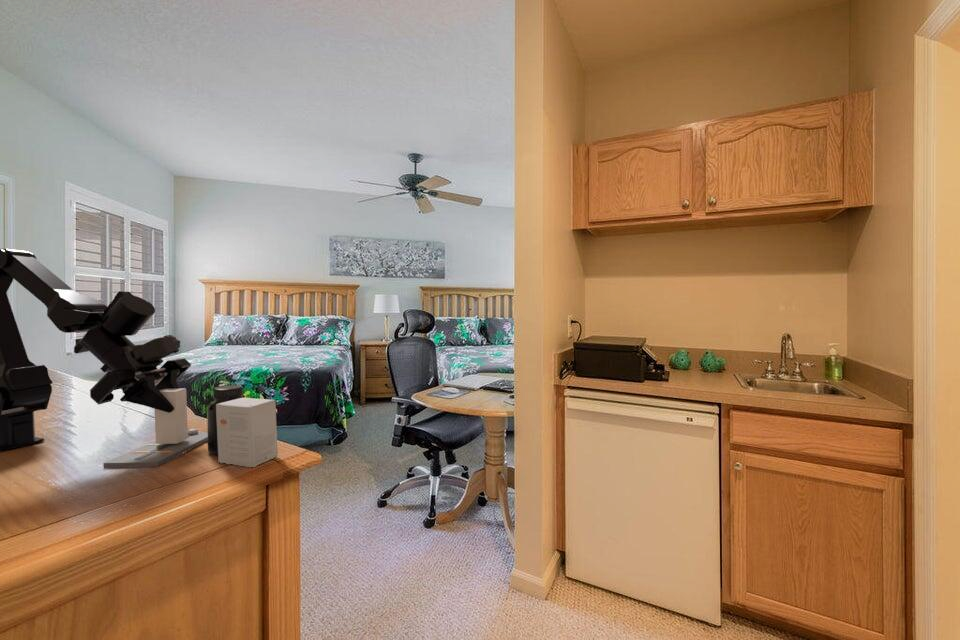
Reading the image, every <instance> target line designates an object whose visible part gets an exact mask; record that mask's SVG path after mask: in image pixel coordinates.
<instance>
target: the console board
mask: <svg viewBox="0 0 960 640" xmlns="http://www.w3.org/2000/svg"><path fill="white" fill-rule="evenodd" d="M206 442H208V432H207V431H199V430H198V428H191V429H188V439H186V440H184V441H182V442H180V443H177V444H156V440H153V441H152V442H150V443H147V444H145V445H142V446H140V447H137V448H135V449H132V450H131V451H128V452H125V453H124V454H121V455H119V456H116V457H115V458H112V459H110V460H107V461H105V462H103V465H102V466H103V468H104V469H106V468H107V469H108V468H158V467H160V466H161V465H163V463H164V464H166V463H168V462H169V460H170V461H171V459H172V460H173V459H175V458H177V457H179V456H181V455H183V454H184V453H183V452H185V451H187V452H189V451H190V450H189V449H191V448H193V447H195V446H197V447H199V446H201V445H203V444H205V443H206ZM202 443H203V444H202ZM200 444H201V445H200ZM198 445H199V446H198ZM195 448H196V447H195ZM193 449H194V448H193ZM188 450H189V451H188ZM191 450H192V449H191ZM182 453H183V454H182ZM185 453H186V452H185ZM180 454H181V455H180ZM178 455H179V456H178ZM176 456H177V457H176ZM174 457H175V458H174ZM167 461H168V462H167ZM165 462H166V463H165Z"/></svg>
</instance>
